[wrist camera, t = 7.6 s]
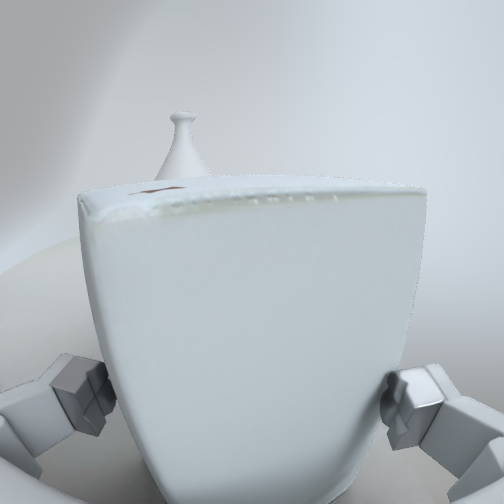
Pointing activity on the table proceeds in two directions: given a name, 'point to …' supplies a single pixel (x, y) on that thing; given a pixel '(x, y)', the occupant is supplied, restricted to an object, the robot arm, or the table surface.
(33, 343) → the table surface
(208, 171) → the vase
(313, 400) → the white packaging box
